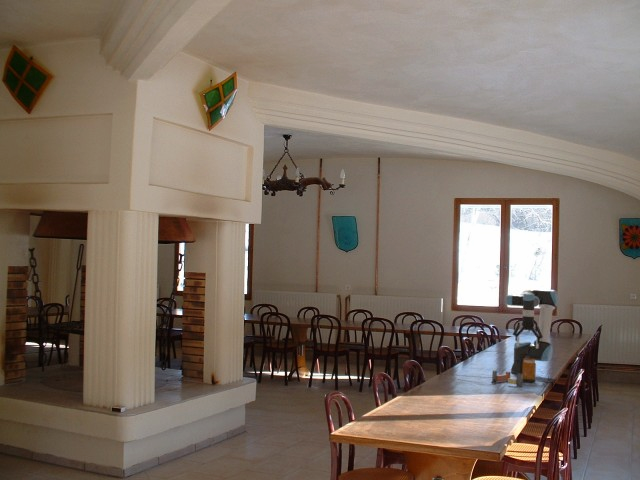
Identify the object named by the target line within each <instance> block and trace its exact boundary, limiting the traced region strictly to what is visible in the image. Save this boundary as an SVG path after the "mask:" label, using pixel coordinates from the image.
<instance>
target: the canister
mask: <svg viewBox="0 0 640 480" xmlns="http://www.w3.org/2000/svg"><path fill="white" fill-rule="evenodd" d="M523 355H524V356H523ZM519 356H520V373H519V374H523V382H524V383H527V384H528V383H530V384H532V383H533V384H534V383H535V382H536V375H537V374H536V371H537V364H536V361H535V359H533V358H532V357H533V356H535V354H533V353H526V352H524V353H523V354H521V355H519ZM521 356H523V357H521ZM522 359H523V363H522Z"/></svg>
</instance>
